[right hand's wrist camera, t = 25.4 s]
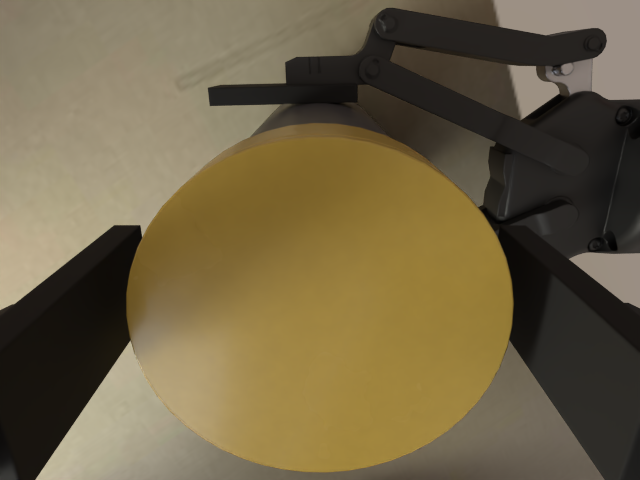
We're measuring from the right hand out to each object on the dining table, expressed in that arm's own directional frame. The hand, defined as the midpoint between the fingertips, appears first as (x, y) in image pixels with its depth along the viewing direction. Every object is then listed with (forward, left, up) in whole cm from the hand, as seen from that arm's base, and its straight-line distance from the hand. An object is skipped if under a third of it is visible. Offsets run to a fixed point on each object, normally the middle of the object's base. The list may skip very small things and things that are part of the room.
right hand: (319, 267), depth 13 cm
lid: (0, 0, +3) cm, 3 cm away
